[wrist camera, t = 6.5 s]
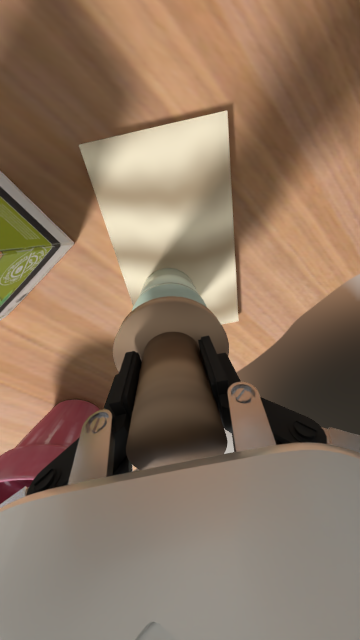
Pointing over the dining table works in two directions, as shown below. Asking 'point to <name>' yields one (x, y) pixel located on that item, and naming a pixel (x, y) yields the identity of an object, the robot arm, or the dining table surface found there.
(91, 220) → the dining table surface
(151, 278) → the jar
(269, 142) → the dining table surface
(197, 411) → the lid
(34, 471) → the plant pot
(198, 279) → the board
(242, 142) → the dining table surface
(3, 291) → the tea box
